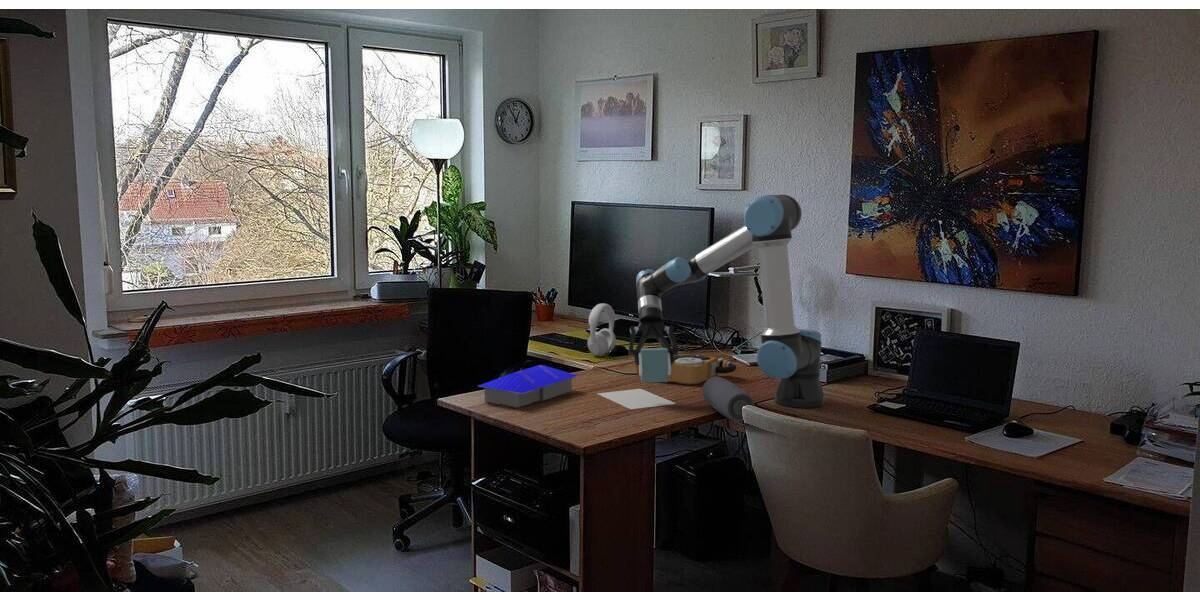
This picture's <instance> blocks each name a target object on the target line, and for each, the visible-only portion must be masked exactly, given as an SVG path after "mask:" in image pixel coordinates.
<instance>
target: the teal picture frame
mask: <svg viewBox="0 0 1200 600" xmlns="http://www.w3.org/2000/svg"><path fill="white" fill-rule="evenodd" d="M640 353H641V358H642V376H641V377H640V382H641V383H668V382H669V381H668V349H667V348H663V347H660V348H659V347H654V348H652V347H651V348H650V347H649V348H647V347H646V348H645V347H644V348H643V347H642V348H641V351H640Z"/></svg>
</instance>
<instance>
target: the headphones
mask: <svg viewBox="0 0 1200 600" xmlns="http://www.w3.org/2000/svg"><path fill="white" fill-rule="evenodd" d="M603 312H604V315H605V317H606V319H607V321H608V328H605V327H604V328H601V329H600V330H599V331H597V326H598V324H599V320H600V318H601V315H602V313H603ZM615 319H616V313H615V311H614V309H613V307H612V305H610V304H608V303H598V304H596V305H595V306H594V307H593V308H592V310H591V311H590V313H589V316H588V326H589V329H590V330H589V332H590V335H589V337H588V338H587V342H586V343H587V348H588V350H589V351H590V352H591V354H593V356H596V355H597V357H603V356H604V355H605V353H607V352H609V353H611V352H612V351H613V350H614V349H615V346H616V343H617V339H616V335H615V333H614V327H615ZM612 349H613V350H612ZM611 350H612V351H611ZM610 351H611V352H610ZM607 354H608V353H607Z"/></svg>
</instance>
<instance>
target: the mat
mask: <svg viewBox="0 0 1200 600" xmlns="http://www.w3.org/2000/svg"><path fill="white" fill-rule="evenodd" d="M597 395H598V396H601V397H603V398H605V399H607V400H610V401H612V402H614V403H616V404H618V405H621V406H622V407H624V408H627V409H629V410H637V409H645V408H651V407H652V408H653V407H659V406H660V407H661V406H669V405H670V406H671V405H675V404H677V403H676V402H673V401H671V400H669V399H666V398H664V397H661V396H659V395H656V394H654V393H652V392H650V391H647V390H645V389H642V388H635V389H626V390H617V391H608V392H600V393H597Z"/></svg>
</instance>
